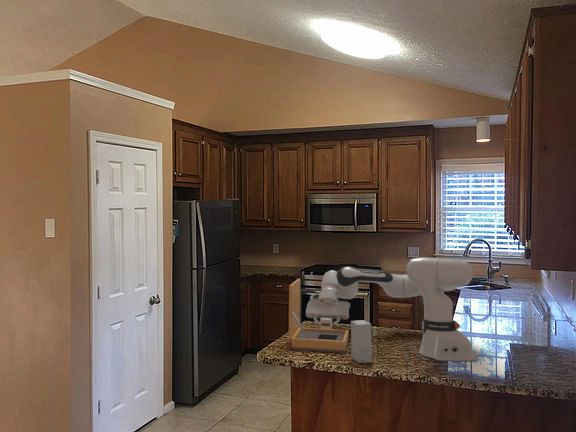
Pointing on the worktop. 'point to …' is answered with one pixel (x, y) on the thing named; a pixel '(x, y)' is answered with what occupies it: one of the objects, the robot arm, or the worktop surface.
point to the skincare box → (361, 341)
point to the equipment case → (312, 329)
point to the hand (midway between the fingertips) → (326, 325)
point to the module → (326, 323)
